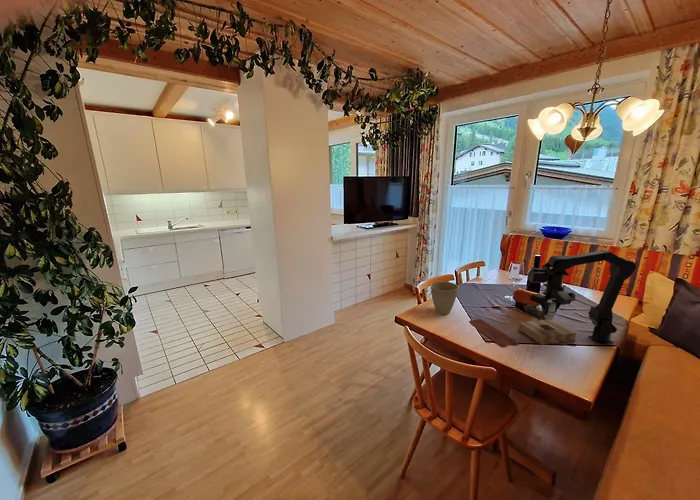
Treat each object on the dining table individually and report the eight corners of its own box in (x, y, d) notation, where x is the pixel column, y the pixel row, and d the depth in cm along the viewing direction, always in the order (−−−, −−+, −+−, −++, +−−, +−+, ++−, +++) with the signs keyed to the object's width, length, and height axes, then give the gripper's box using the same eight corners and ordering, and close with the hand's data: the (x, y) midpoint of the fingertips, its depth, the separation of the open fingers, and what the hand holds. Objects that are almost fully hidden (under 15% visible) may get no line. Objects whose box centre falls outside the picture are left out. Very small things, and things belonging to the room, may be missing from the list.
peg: (548, 315, 140) (551, 300, 138) (556, 319, 136) (558, 304, 134) (541, 316, 139) (543, 301, 137) (548, 320, 135) (551, 304, 133)
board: (549, 326, 148) (550, 319, 147) (574, 340, 134) (576, 332, 133) (518, 329, 145) (519, 322, 144) (541, 344, 131) (542, 336, 130)
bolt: (523, 311, 169) (545, 322, 155) (517, 308, 167) (539, 319, 153) (528, 302, 169) (550, 313, 154) (522, 299, 167) (544, 309, 153)
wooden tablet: (520, 346, 131) (521, 342, 131) (501, 349, 129) (502, 345, 129) (481, 319, 157) (482, 316, 156) (465, 321, 154) (465, 318, 154)
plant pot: (434, 304, 175) (435, 279, 171) (459, 310, 167) (461, 284, 163) (425, 313, 163) (426, 287, 159) (451, 320, 155) (454, 292, 151)
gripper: (551, 291, 124) (546, 324, 128) (588, 287, 127) (581, 320, 131) (531, 282, 135) (527, 313, 138) (565, 279, 138) (560, 309, 141)
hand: (549, 314), depth 137 cm, fingers closed on peg, 4 cm apart
